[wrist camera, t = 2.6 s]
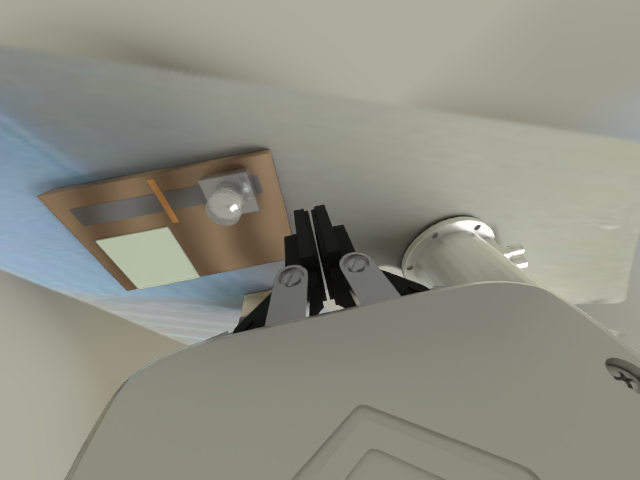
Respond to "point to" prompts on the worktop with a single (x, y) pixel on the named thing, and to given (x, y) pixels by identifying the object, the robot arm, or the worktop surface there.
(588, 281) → the worktop surface
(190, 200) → the board
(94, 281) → the worktop surface
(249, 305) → the beige block
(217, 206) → the silver slider knob
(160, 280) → the pad
